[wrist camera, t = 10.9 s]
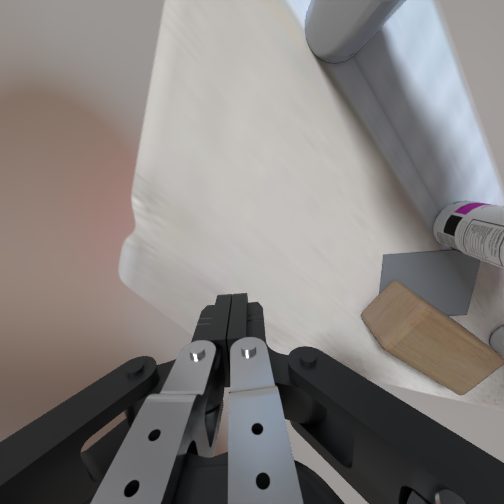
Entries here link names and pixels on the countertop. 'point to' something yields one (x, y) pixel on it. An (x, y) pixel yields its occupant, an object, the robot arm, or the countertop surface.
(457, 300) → the mat
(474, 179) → the countertop surface
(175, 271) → the countertop surface
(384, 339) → the wooden block
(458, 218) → the supplement can
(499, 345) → the beverage can
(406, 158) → the countertop surface
